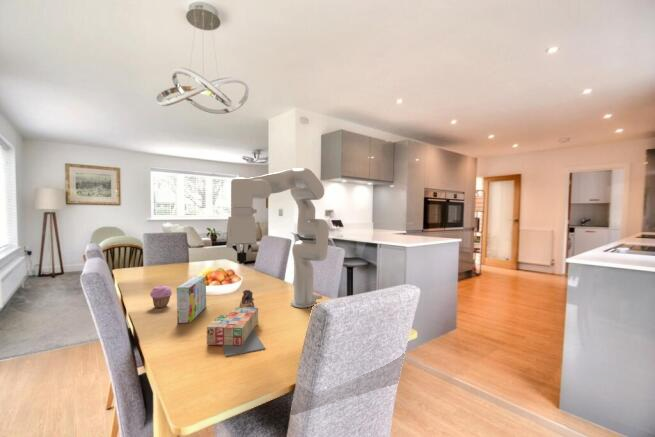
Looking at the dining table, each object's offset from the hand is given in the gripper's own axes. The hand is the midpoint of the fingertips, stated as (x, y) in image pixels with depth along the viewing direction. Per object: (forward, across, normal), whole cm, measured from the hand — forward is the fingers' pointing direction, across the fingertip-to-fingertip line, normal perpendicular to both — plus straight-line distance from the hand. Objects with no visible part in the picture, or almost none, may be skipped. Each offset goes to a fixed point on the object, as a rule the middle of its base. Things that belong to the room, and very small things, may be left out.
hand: (241, 263), depth 109 cm
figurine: (+27, -6, -20) cm, 34 cm away
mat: (+27, +1, 0) cm, 27 cm away
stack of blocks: (+24, -4, -1) cm, 24 cm away
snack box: (+27, +15, -33) cm, 45 cm away
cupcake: (+27, +28, -51) cm, 64 cm away
